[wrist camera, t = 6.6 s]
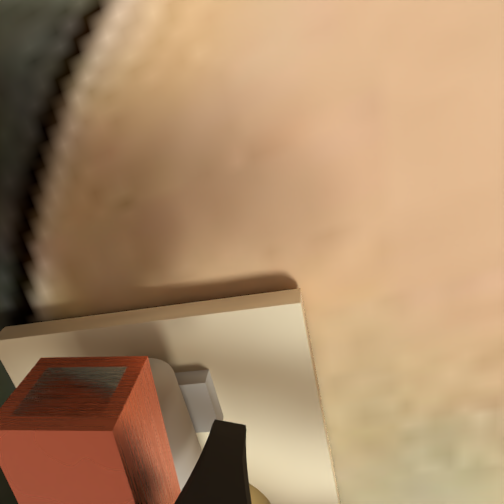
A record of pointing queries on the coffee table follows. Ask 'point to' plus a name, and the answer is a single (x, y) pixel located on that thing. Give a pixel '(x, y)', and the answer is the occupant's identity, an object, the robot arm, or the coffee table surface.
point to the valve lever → (87, 434)
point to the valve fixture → (214, 381)
